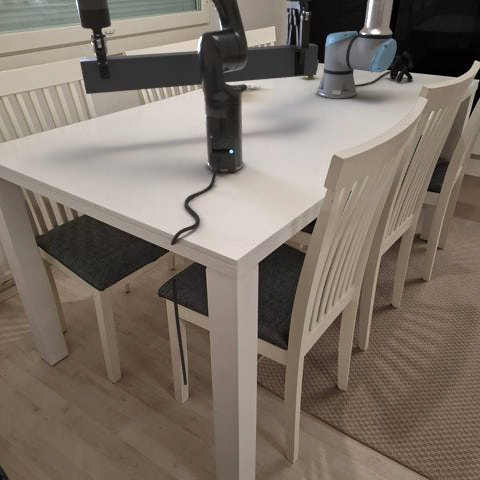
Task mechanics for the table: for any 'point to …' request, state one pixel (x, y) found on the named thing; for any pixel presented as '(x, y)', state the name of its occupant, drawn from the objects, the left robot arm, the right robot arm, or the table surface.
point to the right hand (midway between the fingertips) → (295, 72)
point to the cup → (312, 75)
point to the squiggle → (401, 67)
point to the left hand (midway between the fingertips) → (105, 76)
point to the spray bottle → (246, 86)
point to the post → (190, 69)
